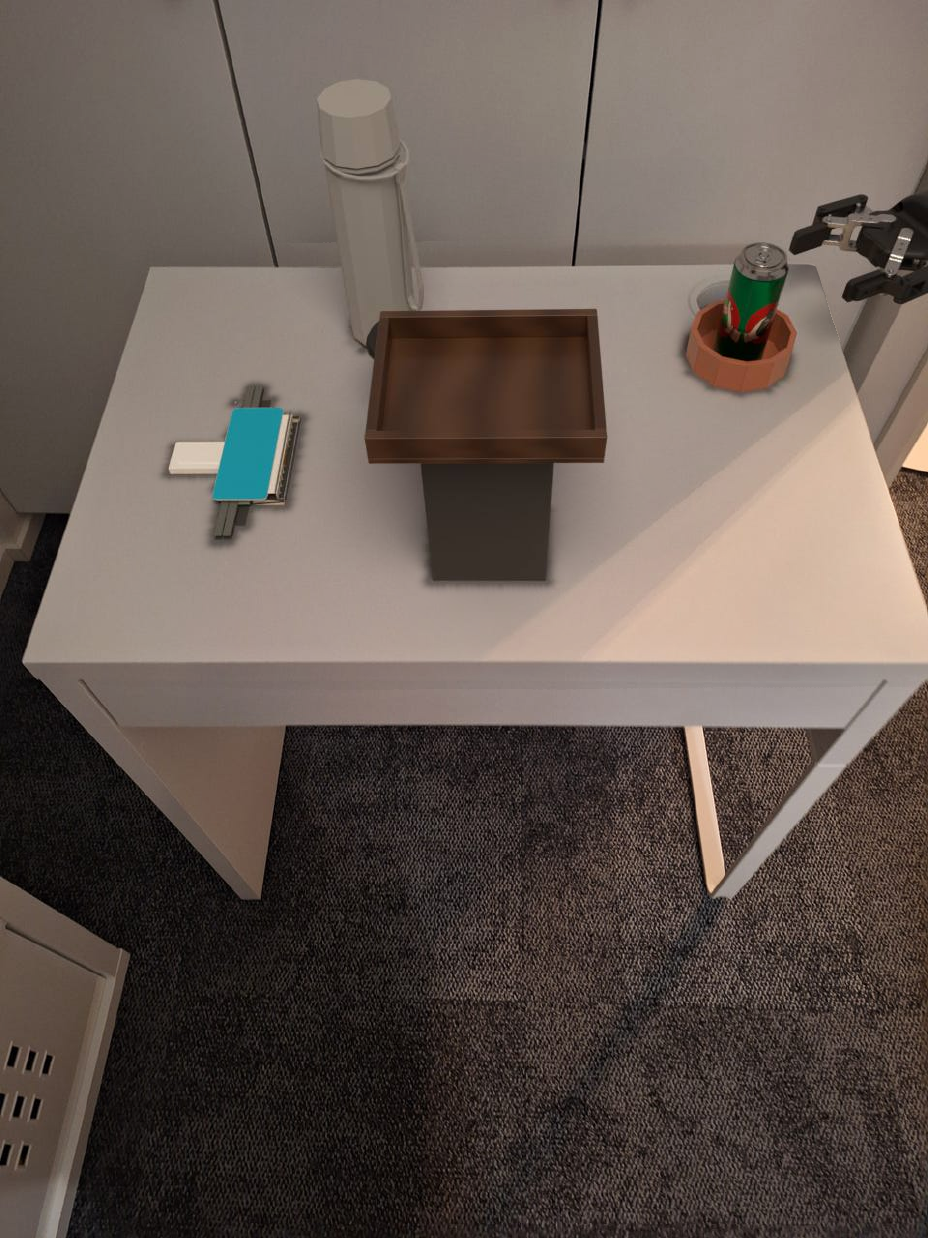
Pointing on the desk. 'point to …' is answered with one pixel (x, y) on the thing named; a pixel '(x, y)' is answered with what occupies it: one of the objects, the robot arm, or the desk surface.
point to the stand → (488, 520)
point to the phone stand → (245, 460)
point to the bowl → (733, 370)
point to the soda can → (751, 301)
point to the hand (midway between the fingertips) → (818, 267)
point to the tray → (487, 388)
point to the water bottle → (368, 200)
